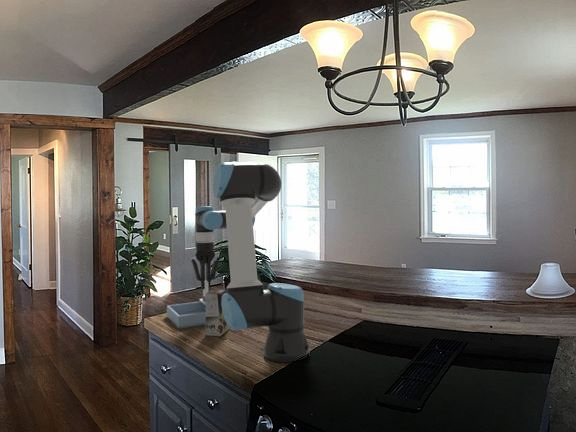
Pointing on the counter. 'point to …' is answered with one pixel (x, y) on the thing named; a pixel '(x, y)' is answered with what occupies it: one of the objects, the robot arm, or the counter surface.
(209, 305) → the coffee box
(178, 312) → the blue tray
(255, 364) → the counter surface
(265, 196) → the robot arm
